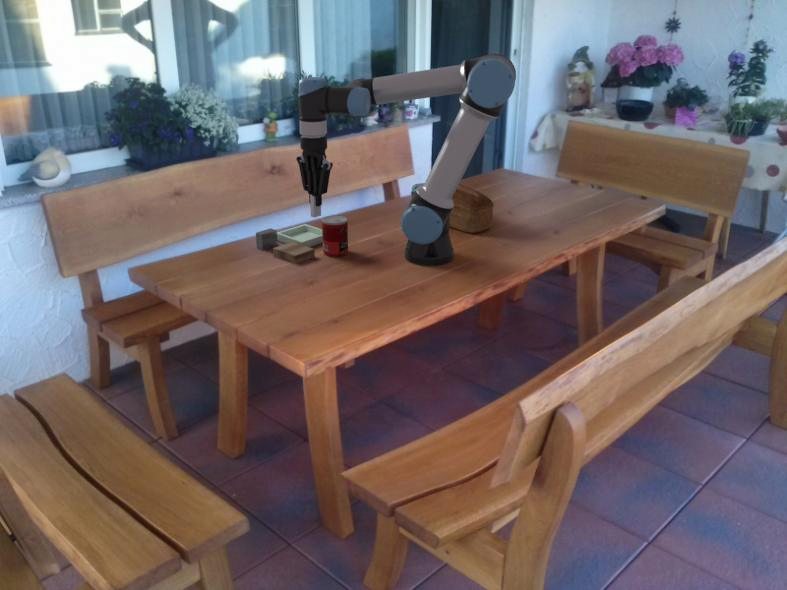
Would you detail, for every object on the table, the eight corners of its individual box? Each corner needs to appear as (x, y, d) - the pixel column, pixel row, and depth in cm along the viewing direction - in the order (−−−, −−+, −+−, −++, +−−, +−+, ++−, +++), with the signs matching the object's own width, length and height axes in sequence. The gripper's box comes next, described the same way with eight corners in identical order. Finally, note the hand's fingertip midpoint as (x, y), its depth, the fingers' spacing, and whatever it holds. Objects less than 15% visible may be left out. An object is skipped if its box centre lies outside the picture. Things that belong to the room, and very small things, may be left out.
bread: (474, 237, 250) (476, 198, 244) (409, 216, 270) (410, 179, 265) (497, 229, 257) (500, 191, 252) (433, 209, 278) (434, 174, 272)
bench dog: (277, 245, 241) (276, 230, 239) (262, 249, 237) (261, 234, 235) (271, 242, 243) (270, 228, 241) (256, 247, 239) (255, 232, 237)
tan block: (314, 258, 232) (314, 248, 231) (295, 265, 227) (295, 255, 225) (292, 250, 238) (292, 241, 237) (273, 257, 233) (273, 248, 231)
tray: (331, 239, 246) (331, 232, 245) (302, 249, 237) (301, 242, 236) (305, 230, 254) (305, 223, 253) (275, 240, 245) (275, 233, 244)
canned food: (344, 258, 231) (344, 223, 227) (319, 256, 233) (318, 222, 228) (351, 249, 238) (350, 216, 234) (326, 247, 240) (325, 214, 235)
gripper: (339, 136, 208) (340, 217, 218) (307, 129, 216) (310, 208, 226) (319, 140, 203) (321, 223, 213) (287, 133, 211) (291, 214, 221)
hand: (315, 215), depth 219 cm, fingers closed
